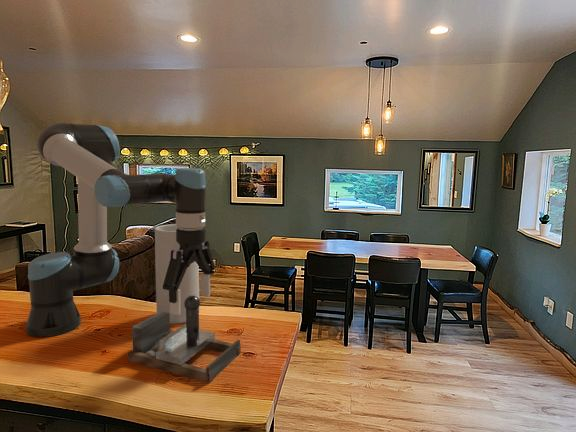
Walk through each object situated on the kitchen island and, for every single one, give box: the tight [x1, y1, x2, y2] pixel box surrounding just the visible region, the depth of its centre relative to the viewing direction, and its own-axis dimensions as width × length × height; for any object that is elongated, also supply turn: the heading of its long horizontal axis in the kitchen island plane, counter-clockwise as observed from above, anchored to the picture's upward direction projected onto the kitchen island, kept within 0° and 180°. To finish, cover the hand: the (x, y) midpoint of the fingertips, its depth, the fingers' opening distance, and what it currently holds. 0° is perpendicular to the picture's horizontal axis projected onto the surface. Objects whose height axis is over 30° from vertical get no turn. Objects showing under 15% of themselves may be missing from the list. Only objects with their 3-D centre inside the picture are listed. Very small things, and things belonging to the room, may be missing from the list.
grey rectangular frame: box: [127, 311, 242, 384], centre depth 109 cm, size 26×16×9 cm, turn 68°
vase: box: [154, 223, 200, 325], centre depth 134 cm, size 14×14×32 cm
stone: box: [145, 333, 170, 356], centre depth 111 cm, size 10×6×8 cm
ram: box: [156, 296, 216, 365], centre depth 108 cm, size 8×16×18 cm, turn 159°
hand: (191, 304), depth 106 cm, fingers open, 13 cm apart
